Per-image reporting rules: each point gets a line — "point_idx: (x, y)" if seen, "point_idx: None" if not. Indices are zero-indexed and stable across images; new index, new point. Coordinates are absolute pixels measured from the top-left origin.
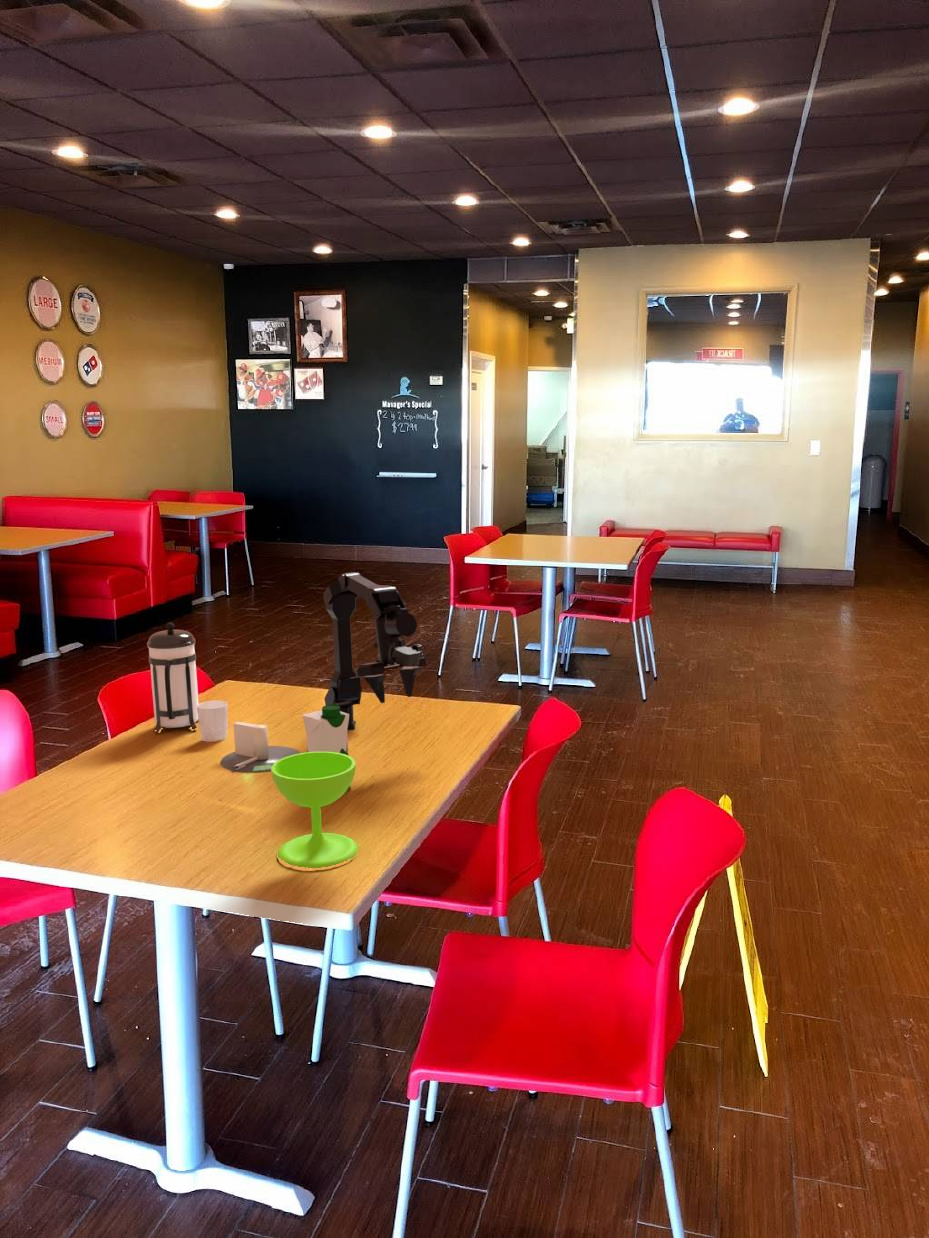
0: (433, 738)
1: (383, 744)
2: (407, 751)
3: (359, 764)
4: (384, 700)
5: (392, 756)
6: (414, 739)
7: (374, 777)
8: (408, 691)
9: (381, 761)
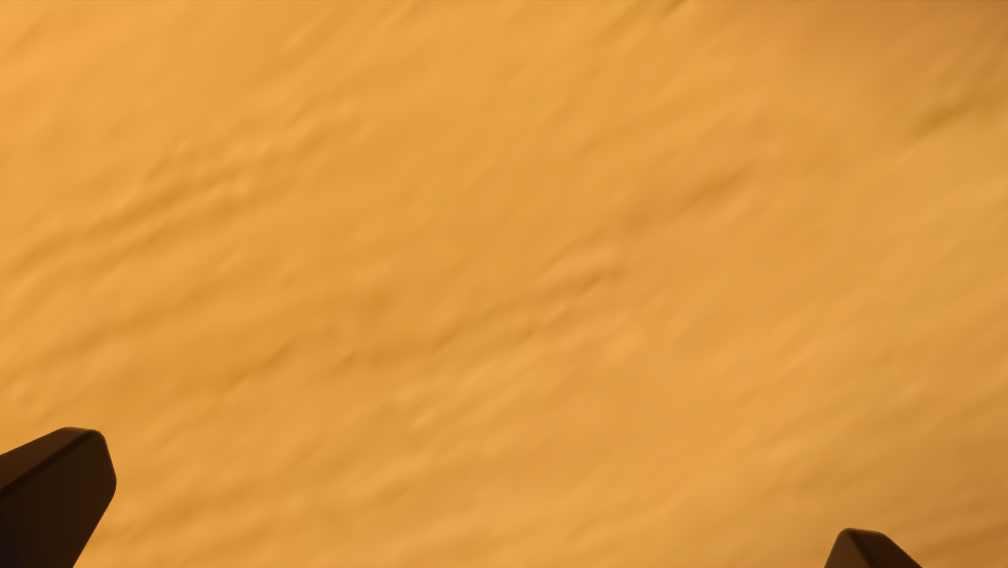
0: (57, 285)
1: (372, 477)
2: (378, 260)
3: (771, 358)
4: (882, 556)
5: (520, 279)
6: (165, 378)
7: (955, 92)
8: (22, 539)
9: (645, 275)
